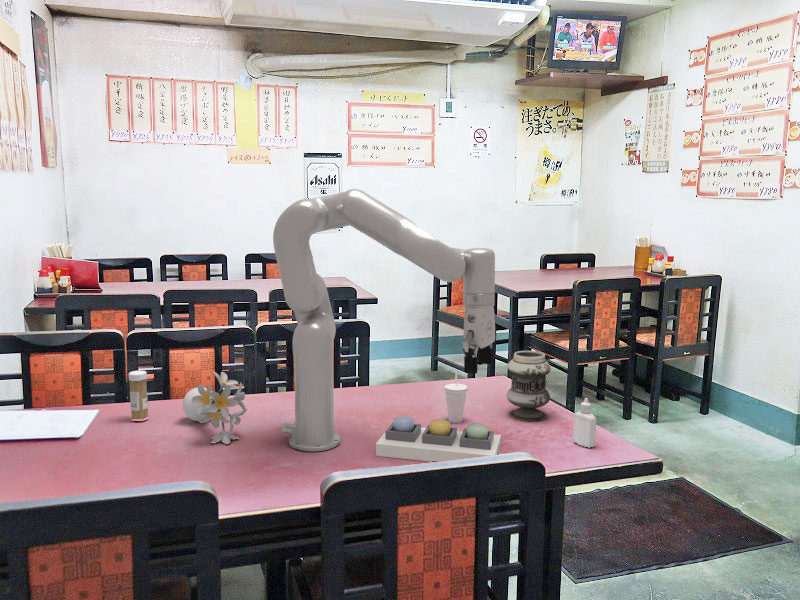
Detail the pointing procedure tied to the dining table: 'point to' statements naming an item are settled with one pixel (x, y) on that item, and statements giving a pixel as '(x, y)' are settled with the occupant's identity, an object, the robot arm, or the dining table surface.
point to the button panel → (435, 445)
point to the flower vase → (215, 406)
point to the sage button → (477, 431)
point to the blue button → (403, 424)
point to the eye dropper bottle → (584, 426)
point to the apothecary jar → (528, 385)
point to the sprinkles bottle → (138, 394)
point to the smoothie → (455, 400)
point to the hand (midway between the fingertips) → (478, 368)
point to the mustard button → (439, 428)
